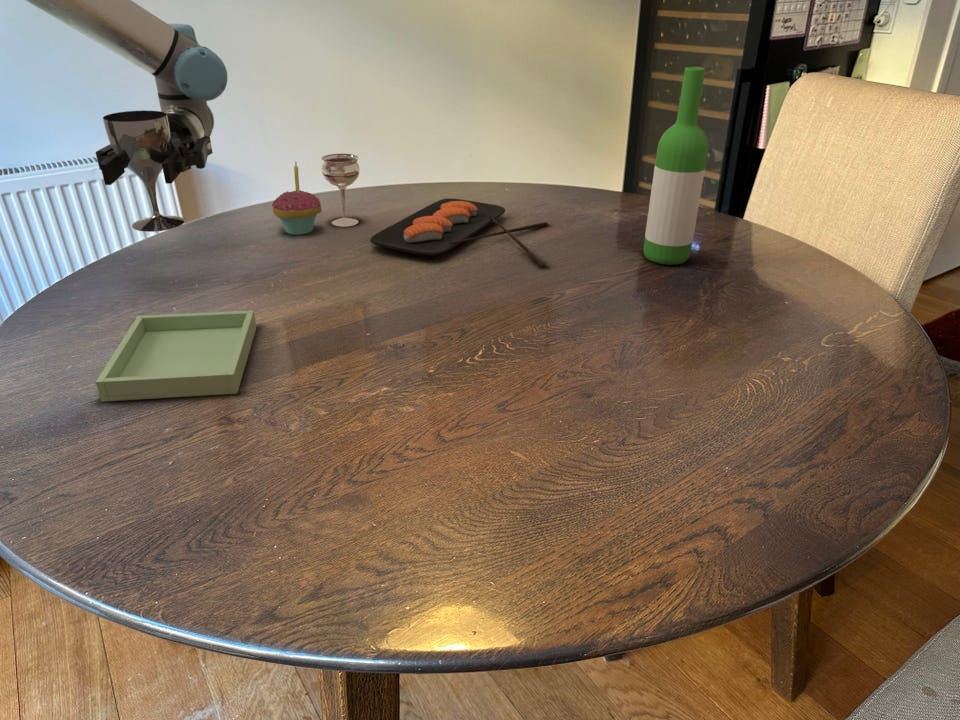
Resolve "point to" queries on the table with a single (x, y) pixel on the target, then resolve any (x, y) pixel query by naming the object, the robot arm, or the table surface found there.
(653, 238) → the wine bottle
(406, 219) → the sushi plate
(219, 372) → the tray
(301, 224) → the cupcake
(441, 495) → the table surface
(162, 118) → the wine glass
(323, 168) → the wineglass
